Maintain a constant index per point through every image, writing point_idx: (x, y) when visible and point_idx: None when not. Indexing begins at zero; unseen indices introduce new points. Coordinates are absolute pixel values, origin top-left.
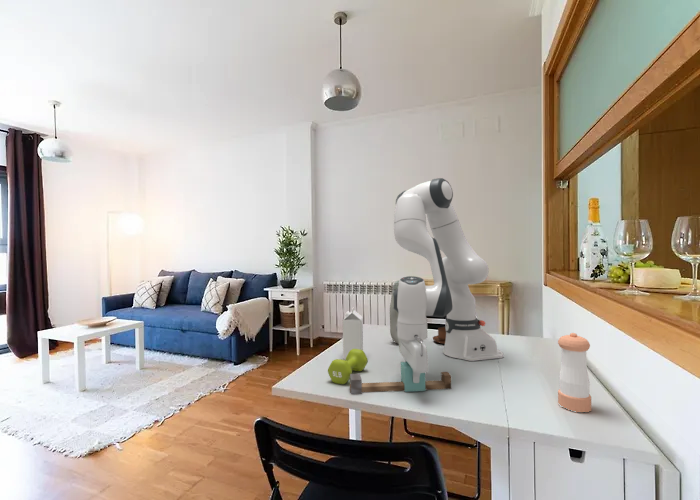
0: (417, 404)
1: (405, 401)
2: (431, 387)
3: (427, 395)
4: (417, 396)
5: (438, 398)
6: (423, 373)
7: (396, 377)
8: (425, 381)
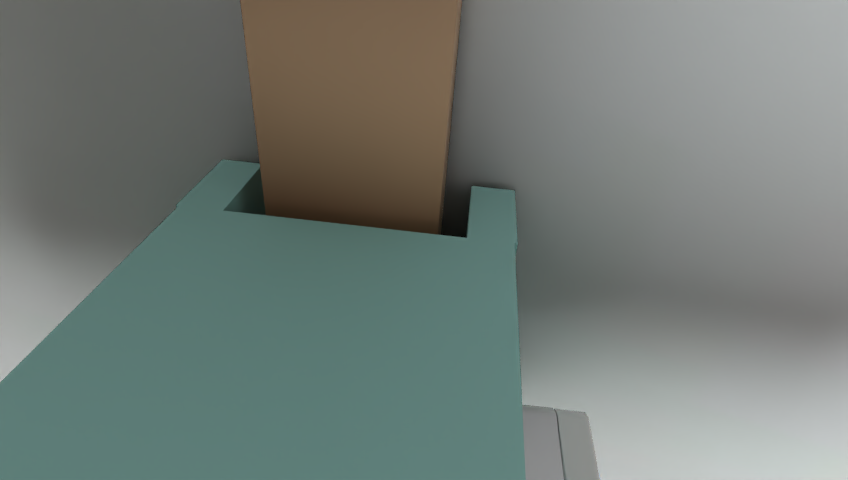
0: (840, 399)
1: (702, 460)
2: (454, 70)
3: (652, 206)
4: (631, 327)
5: (839, 90)
6: (514, 438)
7: (23, 338)
8: (288, 139)
